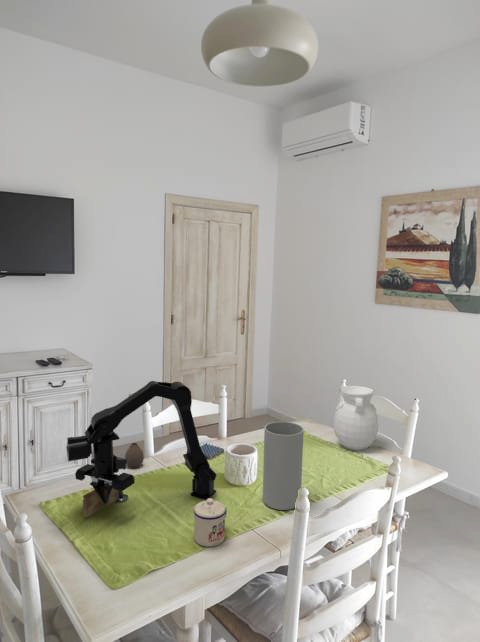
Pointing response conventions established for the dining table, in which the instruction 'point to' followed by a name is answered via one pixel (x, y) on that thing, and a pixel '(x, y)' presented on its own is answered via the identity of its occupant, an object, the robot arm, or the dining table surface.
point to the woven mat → (211, 451)
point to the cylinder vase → (282, 464)
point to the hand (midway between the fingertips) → (105, 503)
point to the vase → (134, 456)
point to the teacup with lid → (209, 523)
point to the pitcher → (356, 418)
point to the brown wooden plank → (97, 501)
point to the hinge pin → (122, 497)
